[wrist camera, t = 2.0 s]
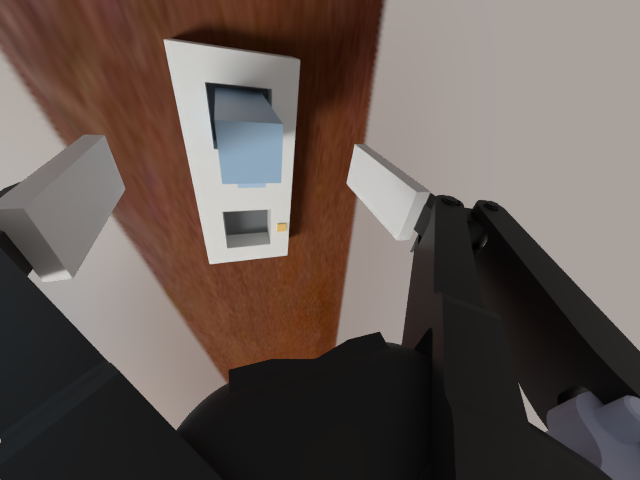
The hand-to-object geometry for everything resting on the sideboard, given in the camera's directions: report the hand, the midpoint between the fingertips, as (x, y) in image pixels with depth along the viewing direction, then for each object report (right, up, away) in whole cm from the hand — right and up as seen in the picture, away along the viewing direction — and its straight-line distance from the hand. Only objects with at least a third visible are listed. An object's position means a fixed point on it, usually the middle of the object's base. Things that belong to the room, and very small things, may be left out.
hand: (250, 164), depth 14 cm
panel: (-4, +3, +11) cm, 12 cm away
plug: (-3, +7, +7) cm, 10 cm away
